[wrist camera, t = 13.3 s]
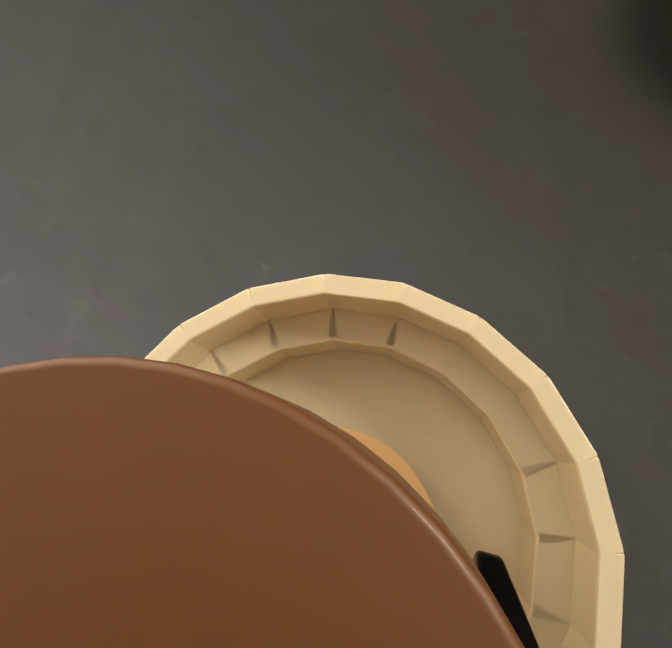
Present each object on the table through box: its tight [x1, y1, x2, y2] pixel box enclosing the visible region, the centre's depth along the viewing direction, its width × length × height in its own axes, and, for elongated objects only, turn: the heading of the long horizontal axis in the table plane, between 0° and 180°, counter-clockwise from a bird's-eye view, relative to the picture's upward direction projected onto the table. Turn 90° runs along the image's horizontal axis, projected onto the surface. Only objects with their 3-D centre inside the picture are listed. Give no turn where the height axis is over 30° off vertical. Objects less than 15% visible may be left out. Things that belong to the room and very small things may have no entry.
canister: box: [0, 356, 525, 648], centre depth 9 cm, size 6×6×13 cm
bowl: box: [144, 274, 625, 648], centre depth 15 cm, size 14×14×4 cm
